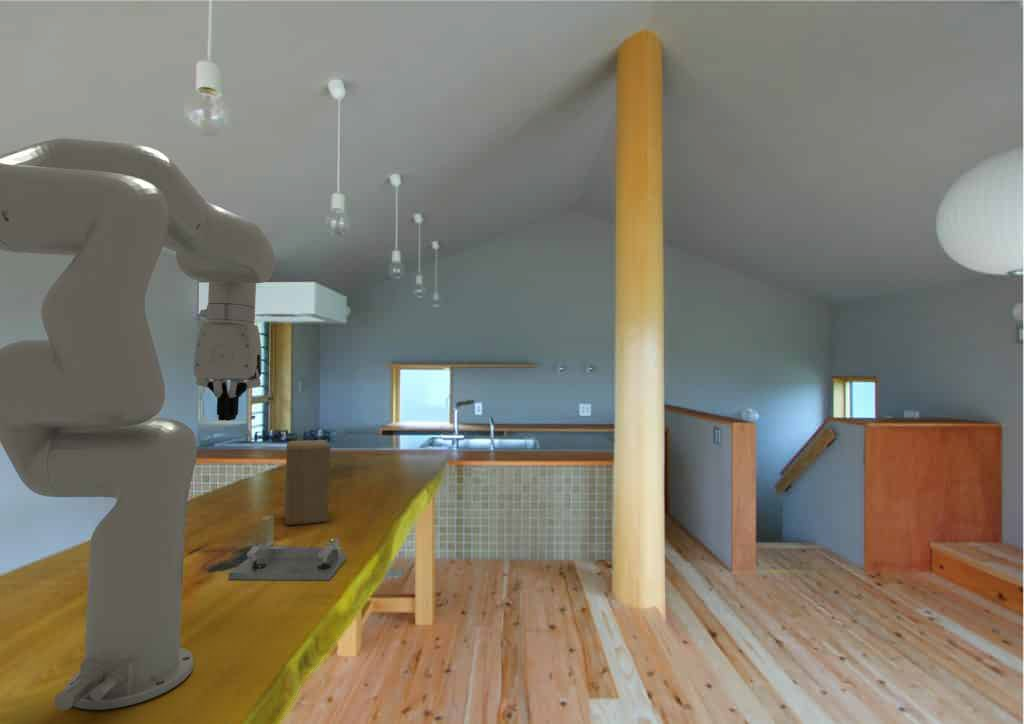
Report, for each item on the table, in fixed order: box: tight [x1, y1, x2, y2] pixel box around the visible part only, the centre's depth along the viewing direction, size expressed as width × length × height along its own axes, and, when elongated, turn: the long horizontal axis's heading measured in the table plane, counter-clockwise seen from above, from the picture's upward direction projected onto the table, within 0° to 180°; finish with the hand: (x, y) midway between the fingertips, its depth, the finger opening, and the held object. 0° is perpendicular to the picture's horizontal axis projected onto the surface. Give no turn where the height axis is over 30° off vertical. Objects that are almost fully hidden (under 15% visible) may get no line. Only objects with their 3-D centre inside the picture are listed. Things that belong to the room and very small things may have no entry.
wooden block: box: [283, 439, 331, 526], centre depth 141 cm, size 10×10×20 cm
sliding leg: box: [246, 515, 275, 565], centre depth 105 cm, size 8×2×8 cm, turn 3°
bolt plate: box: [228, 537, 347, 581], centre depth 105 cm, size 12×18×5 cm, turn 93°
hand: (227, 419), depth 96 cm, fingers closed
